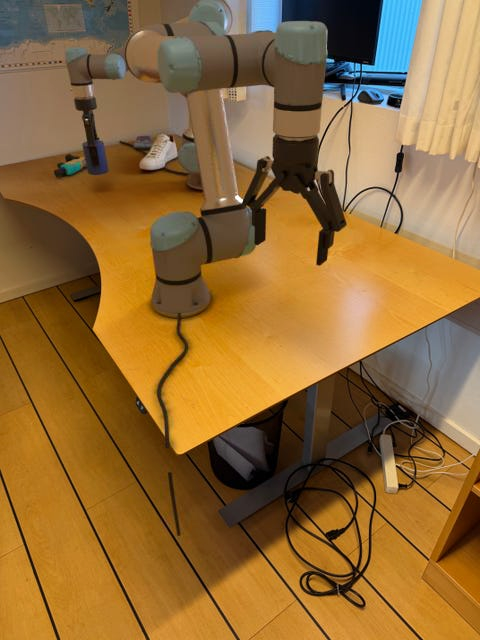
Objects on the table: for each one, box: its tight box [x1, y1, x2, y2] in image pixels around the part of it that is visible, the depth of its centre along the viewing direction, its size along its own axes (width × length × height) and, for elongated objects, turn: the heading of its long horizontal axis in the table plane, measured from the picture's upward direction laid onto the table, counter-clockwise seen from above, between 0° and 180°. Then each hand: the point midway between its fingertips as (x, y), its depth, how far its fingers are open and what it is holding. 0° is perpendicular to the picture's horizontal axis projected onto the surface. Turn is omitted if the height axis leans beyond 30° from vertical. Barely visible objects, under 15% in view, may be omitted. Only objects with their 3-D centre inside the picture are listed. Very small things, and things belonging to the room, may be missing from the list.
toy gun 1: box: [53, 153, 87, 178], centre depth 211 cm, size 4×26×15 cm
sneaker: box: [139, 133, 179, 171], centre depth 214 cm, size 10×29×12 cm, turn 163°
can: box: [81, 139, 110, 176], centre depth 181 cm, size 8×8×11 cm
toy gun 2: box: [132, 135, 155, 151], centre depth 238 cm, size 4×19×15 cm
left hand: (289, 252), depth 89 cm, fingers open, 13 cm apart
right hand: (96, 161), depth 182 cm, fingers closed on can, 8 cm apart
